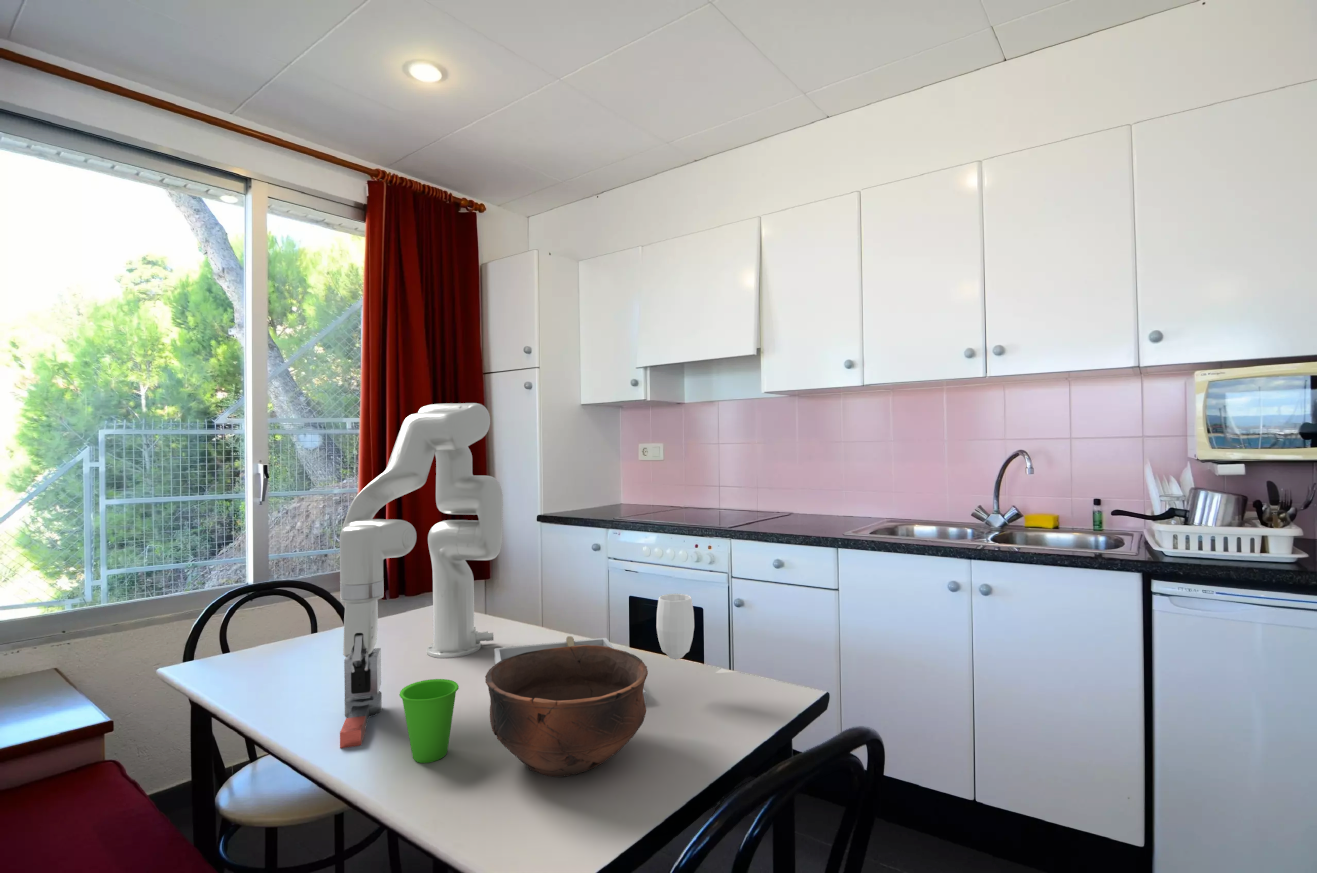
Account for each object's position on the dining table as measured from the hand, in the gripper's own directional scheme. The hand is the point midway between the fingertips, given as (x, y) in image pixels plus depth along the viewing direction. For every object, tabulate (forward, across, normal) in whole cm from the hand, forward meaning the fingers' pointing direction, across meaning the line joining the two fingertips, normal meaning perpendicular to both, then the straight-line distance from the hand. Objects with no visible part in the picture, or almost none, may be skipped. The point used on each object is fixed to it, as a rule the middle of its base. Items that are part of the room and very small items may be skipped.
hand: (363, 685), depth 126 cm
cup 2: (+5, +16, +57) cm, 59 cm away
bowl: (+5, +32, +34) cm, 47 cm away
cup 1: (+5, +23, +13) cm, 27 cm away
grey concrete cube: (+1, 0, 0) cm, 1 cm away
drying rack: (+5, -2, +38) cm, 38 cm away
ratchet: (+5, 0, 0) cm, 5 cm away
